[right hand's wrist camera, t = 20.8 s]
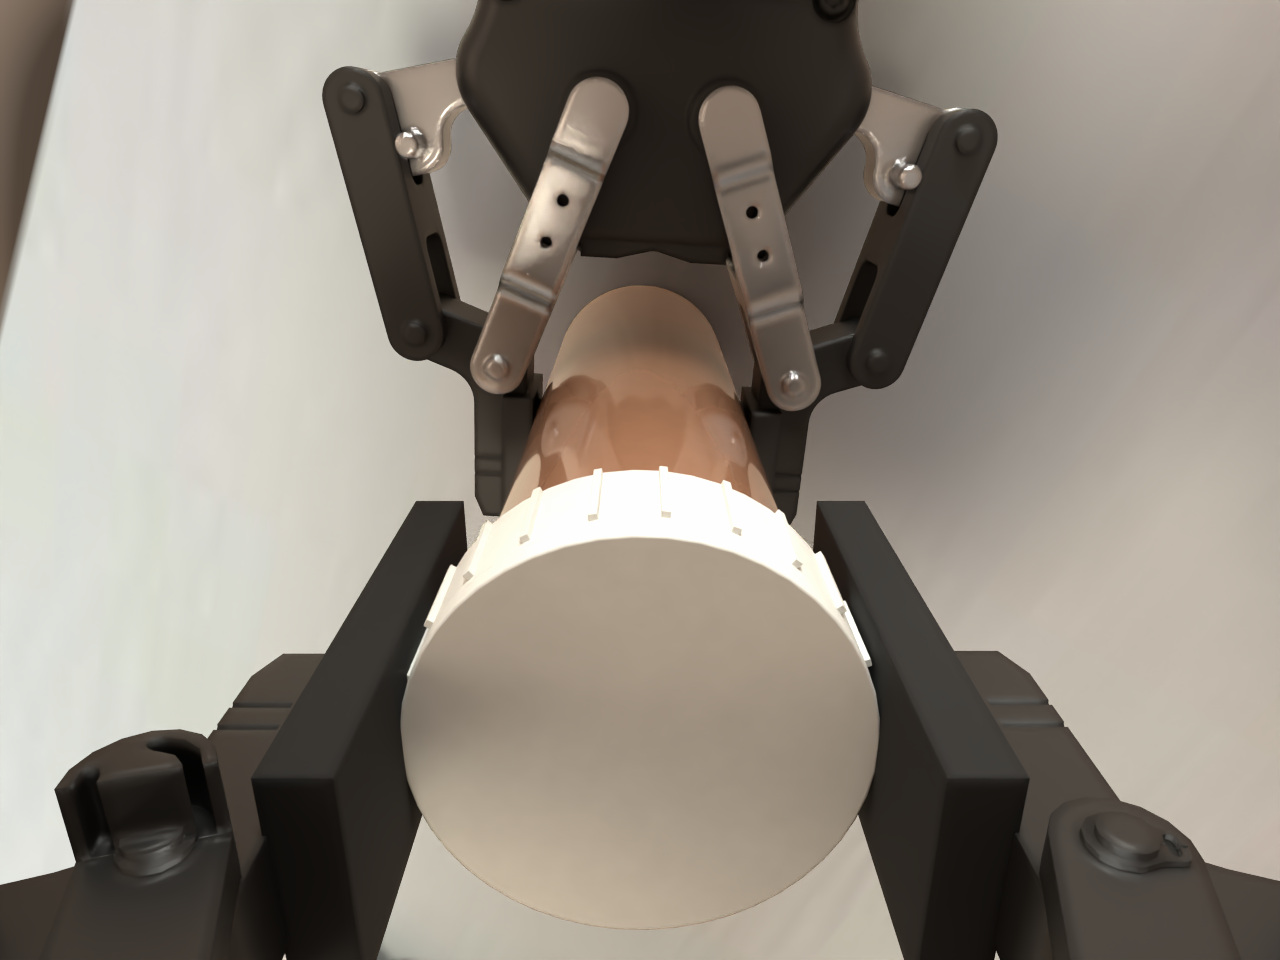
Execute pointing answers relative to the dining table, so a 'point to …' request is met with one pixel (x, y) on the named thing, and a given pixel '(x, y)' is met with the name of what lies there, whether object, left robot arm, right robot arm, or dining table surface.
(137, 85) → the dining table surface
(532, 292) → the left robot arm
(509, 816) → the lid
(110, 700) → the dining table surface
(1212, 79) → the dining table surface
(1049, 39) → the dining table surface
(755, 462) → the jar
